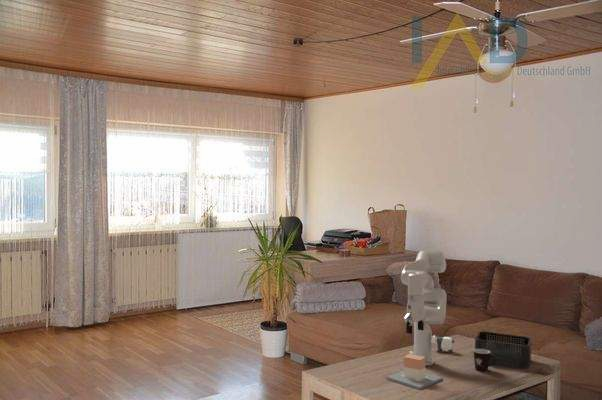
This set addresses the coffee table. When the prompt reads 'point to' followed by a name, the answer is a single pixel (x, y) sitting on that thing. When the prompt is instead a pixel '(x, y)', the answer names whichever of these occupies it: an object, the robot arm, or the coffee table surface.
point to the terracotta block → (414, 361)
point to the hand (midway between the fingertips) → (414, 331)
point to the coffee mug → (482, 359)
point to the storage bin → (505, 349)
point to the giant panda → (443, 343)
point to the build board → (414, 380)
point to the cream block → (414, 373)
